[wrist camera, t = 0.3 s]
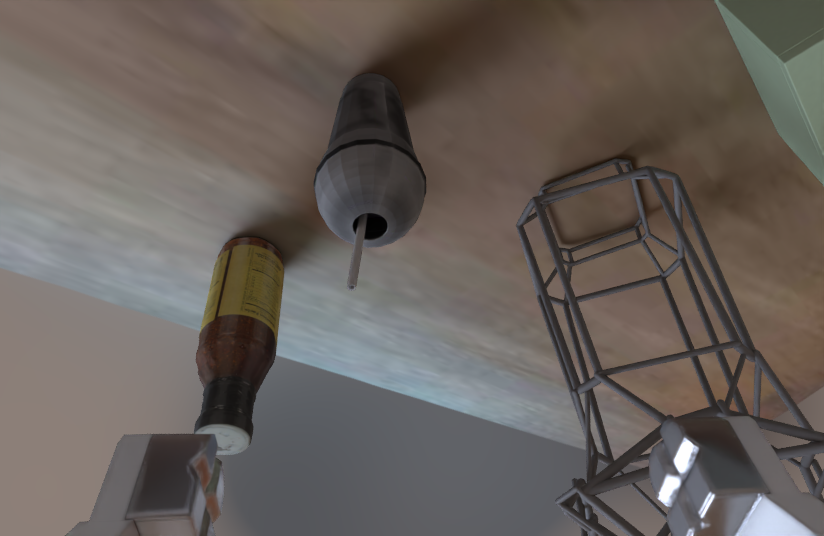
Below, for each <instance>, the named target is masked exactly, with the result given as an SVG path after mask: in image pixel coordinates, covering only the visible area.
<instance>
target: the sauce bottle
mask: <svg viewBox="0 0 824 536" xmlns="http://www.w3.org/2000/svg"><path fill="white" fill-rule="evenodd" d="M283 280H284V268H283V261H282V257H281V254H280V252H279V251H278V250H277V249H276V248H275V247H274V246H273V245H272V244H270V243H268V242H267V241H265V240H262V239H260V238H258V237H244V238H237V239H233V240H231V241H229V242H228V243H226V244H225V245H224V246H223V248H222V250H221V251H220V254H219V255H218V259H217V260H216V263H215V267H214V272H213V276H212V280H211V285H210V290H209V294H208V299H207V303H206V308H205V313H204V317H203V321H202V326H201V330H200V335H199V346H198V350H197V353H196V363H197V366H198V375H199V377H200V381H201V382H202V384H203V387H204V393H203V396H204V399H203V404H202V410H201V414H200V416H199V418H198V420H197V421H196V424H195V429H194V434H215V437H216V440H217V444H218V448H217V453H216V454H219V455H231V454H237V453H240V452H242V451H244V450H245V449H246V448H247V447H248V446H249V445H250V443H251V439H252V434H253V423H252V413H253V405H254V402H255V399H256V393H257V392H258V390H259V388H260V386H261V384H262V382H263V380H264V379H265V377H266V375H267V373H268V371H269V369H270V368H271V366H272V365H273V363H274V360H275V356H276V347H277V337H278V327H279V317H280V308H281V299H282V290H283Z"/></svg>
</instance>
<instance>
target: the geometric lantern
mask: <svg viewBox="0 0 824 536" xmlns="http://www.w3.org/2000/svg"><path fill="white" fill-rule="evenodd" d="M619 163H621V164H627V165H626V169H627V171H628V172H623V170H622V169H621V167H620V165H619ZM612 164H614V165H615V167H616V169H617V171H618V173H619V174H618V175H614V176H611V177H607V178H603V179H600V180H596V181H592V182H588V183H585V184H581V185H577V186H574V187H570V188H566V189H563V190H559V191H555V192H551V193H548V194H547V193H546V191H545V190H546V189H549V188H551V187H554V186H557V185H559V184H562V183H565V182H567V181H570V180H573V179H575V178H578V177H580V176H583V175H586V174H588V173H591V172H594V171H596V170H599V169H602V168H604V167H607V166H610V165H612ZM645 174H646V175H645ZM657 178H668V179H671V180H673V191H674V205H675V211H674V209H673V207H672V205H671V203H670V201H669V200H668V198H667V196H666V194H665V192H664V190H663V188H662V186H661V184H660V182H659V180H658V179H657ZM626 179H631V182H632V186H633V190H634V194H635V198H636V202H637V206H638V210H639V214H640V217H639V219H638V221H637V223H636V225H635V226H633V227H630V228H627V229H624V230H621V231H619V232H616V233H613V234H610V235H607V236H604V237H602V238H599V239H596V240H593V241H590V242H588V243H585V244H582V245H579V246H576V247H574V248H571V249H566V248H559V246H558V244H557V241H556V238H555V236H554V233H553V230H552V228H551V225H550V222H549V220H548V217H547V214H546V212H545V208H546V207H547V205H548V204H551V203H554V202H556V201H559V200H562V199H565V198H568V197H571V196H574V195H577V194H579V193H582V192H585V191H588V190H591V189H594V188H597V187H600V186H603V185H607V184H611V183H615V182H618V181H622V180H626ZM636 179H649V180H650V181H651V183H652V185H653V187H654V189H655V191H656V193H657V195H658V197H659V199H660V201H661V203H662V205H663V207H664V209H665V211H666V213H667V215H668V217H669V219H670V221H671V223H672V225H673V227H674V229H675V231H676V234H677V249H678V251H677V250H676V249H674V248H673V247H671V246H670V245H668V244H666V243H665V242H663V241H662V240H660V239H659V238H657V237H656V236H654V235H653V234H651V233H650V229H649V226H648V222H647V218H646V215H645V211H644V207H643V203H642V199H641V195H640V192H639V188H638V184H637V180H636ZM681 199H682V201H683V204H684V206H685V208H686V211H687V213H688V216H689V218H690V220H691V223H692V225H693V227H694V230H695V232H696V234H697V237H698V239H699V242H700V244H701V246H702V249H703V251H704V253H705V256H706V258H707V260H708V263H709V265H710V268H711V270H712V272H713V275H714V277H715V279H716V282H717V284H718V287H719V289H720V291H721V294H722V296H723V298H724V301H725V303H726V305H727V308H728V310H729V313H730V315H731V317H732V320H733V322H734V324H735V327H736V329H737V331H738V333H739V336H740V338H741V340H742V342H743V344H742V342H741V340H740V338H739V336H738V334H737V332H736V330H735V328H734V326H733V324H732V322H731V320H730V318H729V316H728V314H727V312H726V310H725V308H724V306H723V305H722V303H721V301H720V299H719V297H718V295H717V293H716V291H715V289H714V287H713V285H712V283H711V281H710V279H709V277H708V275H707V273H706V271H705V270H704V268H703V266H702V264H701V262H700V260H699V258H698V256H697V254H696V252H695V250H694V248H693V246H692V244H691V242H690V240H689V238H688V236H687V235H686V233H685V231H684V229H683V220H682V203H681ZM542 203H543V204H542ZM534 207H535V210H536V212H535V213H534V214H532V215H531V216H529V214H530V213H531V211H532V209H533V208H534ZM528 216H529V217H528ZM537 216H538V218H539V221H540V224H541V227H542V229H543V232H544V235H545V238H546V241H547V243H548V246H549V249H550V252H551V254H552V257H553V260H554V263H555V265H556V267H555V269H554V270H553V272H552V273H551V275H550V277H549V278H548V280H547V281H546V283H545V284H544V281H543V278H542V276H541V273H540V270H539V267H538V265H537V262H536V259H535V256H534V254H533V251H532V248H531V245H530V243H529V240H528V238H527V235H526V232H525V230H524V227H523V225H525V224H526V223H528V222H529V221H531V220H532V219H534V218H535V217H537ZM641 223H642V225H643V227H644V229H645V232H646V233H645V234H644V235H643V236H641V233H640V230H639V228H638V227H639V226H640V224H641ZM516 227H517V230H518V233H519V237H520V240H521V244H522V247H523V251H524V254H525V257H526V261H527V264H528V268H529V271H530V275H531V278H532V282H533V285H534V289H535V292H536V296H537V299H538V302H539V305H540V308H541V311H542V314H543V317H544V320H545V323H546V326H547V329H548V331H549V334H550V337H551V340H552V343H553V346H554V349H555V352H556V355H557V357H558V360H559V363H560V366H561V369H562V372H563V375H564V378H565V380H566V383H567V386H568V389H569V392H570V395H571V398H572V401H573V403H574V406H575V409H576V412H577V415H578V418H579V421H580V424H581V426H582V429H583V432H584V435H585V438H586V462H587V483H586V482H585V480H584V479H581V478H580V479H578V480H577V479H575V478H574V479H572V486H573V487H572V488H571V489H570V490H569V491H567V492H566V493H564V494H563V495H562V496H560V497H559V498H557V499H556V500H555V502H556V504H557V505H558V506H559V507H561V508H562V510H563V512H564V514H565V515H566V516H568V517H569V518H570V519H571V520H573V521H574V522H575V523H576V524H578V525H579V526H580V527H581V536H588V535H589V536H598V535H600V536H617V535H615V534H614V533H612V532H611V531H609V530H608V529H607V528H605V527H604V526H602V525H600V524H599V523H598V517H597V515H596V514H595V513H593V510H592V507H593V508H595V509H596V510H597V511H598V512H599V513H601V514H602V515H603V516H605V517H606V518H607V519H608V520H609V521H611V522H612V523H613V524H615V525H616V526H617V527H618V528H619V529H621V530H622V531H623V532H624V533H626V534H627V535H628V536H645V535H643V534H642V533H641V532H640V531H638V530H637V529H636V528H635V527H634V526H632V525H631V524H630V523H629V522H627V521H626V520H625V519H624V518H622V517H621V516H620V515H619V514H617V513H616V512H615V511H613V510H612V509H611V508H610V507H609V506H607V505H606V504H605V503H604V502H602V501H601V500H600V499H599V498H597V497H596V496H595V495H597V494H600V493H603V492H607V491H610V490H613V489H616V488H619V487H622V486H626V485H628V484H630V485H631V486H632V487H633V488H634V489H635V490H636V491H637V492H638V493H639V494H640V495H641V496H642V497H643V498H644V499H645V500H646V501H647V502H648V503H649V504H650V505H651V506H653V507H654V508H655V509H656V510H657V511H658V512H659V513H660V514H661V515H662V516H663V517H664V518H665V519H666V518H667V514H666V513H665V512H664V511H663V510H662V509H661V508H660V507H659V506H657V504H655V503H654V502H653V501H652V500H651V499H650V498H649V497H648V496H647V495H646V494H645V493H644V492H643V491H642V490H641V489H640V488H639V487H638V486H637V485H636V484H635V482H638V481H641V480H644V479H648V478H650V476H649V466H648V467H645V468H642V469H639V470H636V471H632V472H630V473H626V474H624V473H623V472H622V471H621V470H622V469H623V468H624V467H626V466H627V465H628V464H629V463H633V462H638V461H642V460H647V459H649V457H650V454H651V453H649V454H644V455H641V454H642V453H643V452H645V451H646V450H647V449H648V448H650V447H651V446H652V445H653V444H655V443H656V442H657V441H658V440H660V439H661V438H662V436H661V434H660V432H659V431H660V429H661V427H662V425H663V422H665V421H666V420H668V419H670V418H674V417H673V416H672V415H667V416H665V415H664V414H662V413H661V412H659V411H658V410H656V409H655V408H653V407H652V406H650V405H649V404H647V403H646V402H644V401H643V400H641V399H640V398H638V397H637V396H635V395H634V394H632V393H631V392H629V391H628V390H626V389H625V388H623V387H622V386H621V385H619V384H618V383H616V382H615V381H613V380H612V379H610V378H609V377H607V375H612V374H616V373H621V372H625V371H630V370H634V369H639V368H643V367H648V366H652V365H657V364H661V363H666V362H670V361H675V360H679V359H684V358H688V357H690V358H691V361H692V363H693V366H694V368H695V371H696V373H697V376H698V378H699V381H700V383H701V386H702V388H703V391H704V393H705V396H706V398H707V401H708V403H709V406H710V407H707V408H704V409H701V410H698V411H695V412H691V413H688V414H685V415H682V416H678V417H675V418H692V417H713V416H718V417H732V416H749V417H751V418H752V419H753V420H755V421H756V423H757V424H758V426H759V428H762V429H766V430H769V431H774V432H777V433H781V434H785V435H789V436H793V437H797V438H801V439H805V440H808V441H811V442H810V443H808V444H804V445H798V446H792V447H786V448H781V449H777V448H775V447H774V446H772V445H771V446H772V448H773V450H774V451H775V453H776V454H777V456H778V457H779V459H780V460H783V459H786V460H788V461H790V462H791V463H793V464H794V465H796V466H798V467H799V469H800V471H801V473H802V475H803V477H804V480H805V482H806V484H807V486H808V488H809V491H810V493H811V494H812V495H813V496H814V497H816V498H817V499H819V500H820V501H822V502H823V503H824V499H823V496H822V494H821V493H822V490H823V488H824V470H823V471H822V469H821V467H820V466H819V464H818V462H817V460H816V459H814V456H815V454H819V453H824V433H821V432H817V431H814V430H813V428H812V427H811V425H810V424H809V423H808V421H807V420H806V418H805V417H804V416H803V414H802V412H801V411H800V409H799V408H798V407H797V405H796V404H795V402H794V401H793V399H792V398H791V396H790V395H789V394H788V392H787V391H786V389H785V388H784V386H783V385H782V384H781V382H780V381H779V379H778V378H777V376H776V375H775V373H774V372H773V371H772V369H771V368H770V366H769V365H768V363H767V362H766V360H765V359H764V358H763V356H762V354H761V353H760V352H759V351H758V350H756V349H755V347H754V345H753V343H752V340H751V338H750V336H749V333H748V331H747V329H746V327H745V324H744V322H743V320H742V318H741V315H740V313H739V311H738V308H737V306H736V304H735V302H734V299H733V297H732V295H731V292H730V290H729V288H728V286H727V283H726V281H725V279H724V276H723V274H722V272H721V270H720V267H719V265H718V263H717V260H716V258H715V256H714V254H713V251H712V249H711V247H710V244H709V242H708V240H707V238H706V235H705V233H704V231H703V228H702V226H701V224H700V222H699V219H698V217H697V215H696V212H695V210H694V208H693V206H692V203H691V201H690V199H689V196H688V194H687V192H686V190H685V187H684V185H683V183H682V181H681V179H680V177H679V176H678V175H677V174H675V173H672V172H669V171H666V170H662V169H659V168H655V167H650V166H645V167H642V168H639V169H636V170H633V167H632V163H631V162H630V160H625V159H616V158H615V159H613V160H611V161H608V162H605V163H603V164H600V165H597V166H595V167H592V168H590V169H587V170H584V171H582V172H579V173H576V174H574V175H571V176H569V177H566V178H563V179H561V180H558V181H555V182H553V183H550V184H548V185H545V186H543V187H541V188H540V191H539V194H538V196H537V197H533V198H532V199H531V200H530V202H529V203H528V205H527V206H526V208H525V210H524V212H523V213H522V215H521V217H520V219H519V220H518V222H517V225H516ZM633 230H635V232H636V235H637V237H638V239H637V240H634V241H631V242H629V243H626V244H623V245H620V246H617V247H614V248H611V249H609V250H606V251H603V252H600V253H597V254H594V255H591V256H589V257H586V258H583V259H580V260H577V261H573V257H572V254H571V252H574V251H577V250H579V249H582V248H585V247H588V246H591V245H593V244H596V243H599V242H602V241H605V240H608V239H610V238H613V237H616V236H619V235H622V234H624V233H627V232H630V231H633ZM647 237H650V238H651V239H653V240H654V241H656V242H657V243H659V244H660V245H662V246H663V247H665V248H666V249H668V250H669V251H671V252H672V253H674V254H676V255H677V256H678V259H677V260H676V261H675V262H674V263H673V264H672V265H671V266H670V267H669V268H668V269H667V270H666V271H665V272H664V271H663V270H662V268H661V266H660V265H659V263H658V261H657V260H656V258H655V257H654V255H653V253H652V252H651V250H650V248H649V247H648V245H647V243H646V242H645V239H646V238H647ZM638 243H642V245H643V247H644V248H645V250H646V252H647V253H648V255H649V257H650V258H651V260H652V261H653V263H654V265H655V266H656V268H657V270H658V271H659V273H660V275H659V276H655V277H652V278H648V279H644V280H640V281H636V282H632V283H628V284H625V285H621V286H617V287H613V288H609V289H605V290H601V291H598V292H594V293H590V294H586V295H582V296H578V297H575V295H574V292H573V289H572V287H571V284H570V280H571V270H572V266H575V265H578V264H581V263H583V262H586V261H589V260H592V259H595V258H598V257H601V256H604V255H606V254H609V253H612V252H615V251H618V250H621V249H624V248H627V247H629V246H632V245H635V244H638ZM684 249H685V251H686V253H687V255H688V257H689V259H690V261H691V263H692V265H693V267H694V269H695V271H696V273H697V275H698V277H699V279H700V281H701V283H702V285H703V287H704V289H705V291H706V293H707V295H708V297H709V299H710V301H711V303H712V305H713V307H714V309H715V311H716V313H717V315H718V317H719V319H720V321H721V323H722V325H723V327H724V329H725V331H726V333H727V335H728V337H729V339H730V341H731V342H726V343H722V344H720V343H719V341H718V338H717V336H716V334H715V331H714V329H713V326H712V324H711V321H710V319H709V317H708V314H707V312H706V309H705V307H704V304H703V302H702V300H701V297H700V295H699V292H698V290H697V287H696V285H695V282H694V280H693V277H692V275H691V272H690V270H689V267H688V264H687V262H686V259H685V253H684ZM561 252H567V254H568V258H569V261H570V262H568V261H565V260H564V259H563V256H562V253H561ZM563 264H565V265H567V266H568V269H567V273H566V271H565V268H564V265H563ZM680 265H681V267H682V270H683V273H684V275H685V278H686V280H687V283H688V286H689V288H690V291H691V293H692V296H693V298H694V301H695V303H696V306H697V308H698V311H699V313H700V316H701V318H702V321H703V323H704V326H705V328H706V331H707V333H708V336H709V338H710V341H711V343H712V346H708V347H704V348H699V349H694V347H693V344H692V342H691V339H690V337H689V335H688V332H687V330H686V327H685V325H684V322H683V320H682V318H681V315H680V313H679V310H678V308H677V305H676V303H675V301H674V298H673V296H672V293H671V291H670V288H669V286H668V283H667V281H666V278H667V277H668V276H669V275H671V274H672V273H673V272H674V271H675V270H676V269H677V268H678V267H679V266H680ZM557 272H558V274H559V276H560V279H561V282H562V285H563V288H564V290H565V298H564V300H561V299H557V298H554V297H551V296H549V295H548V292H547V289H546V288H547V287H548V285H549V284H550V282H551V281H552V279H553V278H554V276H555V275H556V273H557ZM656 282H660V283H661V285H662V288H663V290H664V293H665V295H666V298H667V300H668V303H669V305H670V308H671V310H672V313H673V315H674V318H675V320H676V323H677V325H678V328H679V330H680V333H681V335H682V338H683V340H684V343H685V345H686V348H687V350H688V351H686V352H682V353H677V354H673V355H668V356H664V357H659V358H655V359H650V360H646V361H641V362H637V363H633V364H628V365H624V366H619V367H615V368H610V369H606V370H602V368H601V365H600V362H599V359H598V357H597V354H596V351H595V348H594V346H593V343H592V340H591V337H590V335H589V332H588V329H587V327H586V324H585V321H584V319H583V316H582V313H581V311H580V308H579V305H578V302H582V301H586V300H590V299H594V298H598V297H601V296H605V295H609V294H613V293H617V292H621V291H625V290H629V289H633V288H636V287H640V286H644V285H648V284H652V283H656ZM552 303H554V304H557V305H561V306H563V309H564V313H565V316H566V320H567V324H568V327H569V331H570V335H571V338H572V342H573V345H574V349H575V352H576V356H577V359H578V363H579V366H580V370H581V373H582V377H583V380H584V383H583V384H580V381H579V378H578V375H577V372H576V370H575V367H574V364H573V361H572V359H571V356H570V353H569V350H568V347H567V345H566V342H565V339H564V336H563V334H562V331H561V328H560V325H559V323H558V320H557V317H556V314H555V312H554V309H553V306H552ZM569 305H570V307H571V310H572V312H573V315H574V318H575V321H576V323H577V326H578V329H579V332H580V335H581V337H582V340H583V343H584V345H585V348H586V351H587V353H588V356H589V359H590V361H591V364H592V367H593V369H594V372H595V373H594V377H593V378H591V379H590V378H589V374H588V371H587V368H586V364H585V361H584V357H583V354H582V351H581V347H580V344H579V340H578V337H577V334H576V330H575V327H574V323H573V320H572V316H571V312H570V309H569ZM733 347H734V349H735V350H736V351H738V352H739V353H740V354H741V356H740V359H739V361H738V364H737V367H736V370H735V373H734V376H733V375H732V373H731V370H730V368H729V365H728V363H727V360H726V358H725V356H724V353H723V351H722V350H724V349H729V348H733ZM711 352H715V353H716V356H717V358H718V361H719V363H720V366H721V368H722V371H723V373H724V376H725V378H726V381H727V383H728V386H729V391H728V394H727V397H726V400H725V402H724V401H723V400H718V401H717V403H716V400H715V398H714V395H713V393H712V390H711V388H710V386H709V383H708V381H707V378H706V376H705V373H704V371H703V369H702V366H701V364H700V361H699V359H698V356H697V355H702V354H706V353H711ZM746 358H747V359H748V360H749V361H751V362H755V379H754V412H753V416H752V415H749V414H748V411H747V409H746V407H745V404H744V402H743V399H742V397H741V394H740V392H739V390H738V387H737V383H738V380H739V377H740V374H741V371H742V368H743V365H744V362H745V359H746ZM761 371H763V372H764V374H765V375H766V377H767V378H768V380H769V381H770V383H771V384H772V385H773V387H774V388H775V390H776V391H777V393H778V394H779V396H780V397H781V399H782V400H783V401H784V403H785V404H786V406H787V407H788V409H789V410H790V411H791V413H792V414H793V416H794V417H795V419H796V420H797V422H798V423H799V425H800V426H801V427H797V426H792V425H788V424H785V423H781V422H776V421H773V420H768V419H764V418H760V394H761ZM601 382H602V383H604V384H605V385H606V386H608V387H609V388H611V389H612V390H614V391H615V392H616V393H618V394H619V395H621V396H622V397H624V398H625V399H627V400H628V401H629V402H631V403H632V404H634V405H635V406H637V407H638V408H640V409H641V410H642V411H644V412H645V413H647V414H648V415H650V416H651V417H653V418H654V419H655V420H657V421H658V422H660V423H661V425H660V426H659V427H657V428H656V429H655V430H653V431H652V432H651V433H650V434H648V435H647V436H646V437H645V438H643V439H642V440H641V441H639V442H638V443H637V444H636V445H634V446H633V447H632V448H631V449H629V450H628V451H627V452H625V453H624V454H623V455H622V456H620V457H619V458H618V459H616V460H615V461H614V459H613V456H612V452H611V449H610V446H609V442H608V439H607V436H606V432H605V429H604V426H603V422H602V419H601V415H600V412H599V409H598V405H597V402H596V398H595V395H594V392H593V387H595V386H597V385H598V384H600V383H601ZM584 392H585V413H584V411H583V407H582V404H581V400H580V397H579V394H582V393H584ZM732 398H734V401H735V403H736V406H737V408H738V411H739V412H736V411H732V410H730V409H729V407H730V404H731V401H732ZM717 404H718V405H717ZM590 405H591V409H592V412H593V416H594V419H595V423H596V426H597V430H598V433H599V437H600V440H601V444H602V447H603V451H604V454H605V455H603V454H601V453H599V452H598V451H597V448H596V445H595V442H594V439H593V436H592V433H591V430H590ZM639 455H640V456H639ZM801 456H803V457H802V460H801V463H800V462H798V461H797V460H795V459H793V458H795V457H801ZM598 460H599V461H601V462H603V463H604V464H607V465H609V466H608V467H606V468H605V469H604V470H602V471H601V472H600V473H599V474H597V475H596V469H597V463H598ZM811 464H812V466H813V468H814V470H815V472H816V474H817V476H818V478H819V481H818V483H816V481H815V478H814V476H813V474H812V472H811V470H810V465H811ZM617 473H618V474H619V475H620V476H617V477H614V478H612V477H613V476H614V475H615V474H617ZM575 502H576V506H577V511H578V512H577V511H576V510H575V509H573V508H572V507H573V505H574V503H575ZM587 532H588V534H587ZM670 532H671V530H670V528H669V526H668V523H667V522H666V524H665V525H664V526H663V528H662V529H661V530H660V532H659V533H658V534H657V536H668V534H669V533H670ZM671 536H673V535H672V533H671Z"/></svg>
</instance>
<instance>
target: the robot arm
mask: <svg viewBox="0 0 824 536" xmlns="http://www.w3.org/2000/svg"><path fill="white" fill-rule="evenodd" d="M659 432H660V434H661V436H662V438H663V440H662V441H660V442H659V443H658V444H656V445H655V446H654V447H653V448H652V451H651V454H650V457H649V476H650V480H651V485H652V487H653V490H654V492H655V495H656V497H657V498H658V499H659V500H660V501H662V502H663V503H664V504H665V505H666V506H668V507H669V511H668V514H667V518H666V521H667V523H668V526H669V528H670V530H671V533H672V535H673V536H824V503H823V502H822V501H820V500H819V499H817V498H816V497H814V496H813V495H812V494H810V493H801V492H800V491H799V489H798V487H797V486H796V484H795V483H794V481H793V479H792V478H791V476H790V475H789V473H788V472H787V470H786V468H785V467H784V465H783V464H782V462H781V461H780V459H779V457H778V456H777V454H776V453H775V451H774V450H773V448H772V446H771V445H770V444H769V442H768V440H767V439H766V437H765V435H764V434H763V432H762V431H761V429H760V428H759V426H758V424H757V423H756V421H755V420H753V419H752V418H751V417H749V416H732V417H718V416H714V417H692V418H670V419H668V420H666V421H665V422H663V425H662V427H661V429H660V431H659ZM217 448H218V444H217V440H216V437H215V434H134V435H124V436H123V437H122V438H121V440H120V441H119V442H118V444H117V446H116V449H115V452H114V455H113V457H112V460H111V463H110V465H109V468H108V471H107V474H106V476H105V479H104V482H103V484H102V487H101V491H100V493H99V495H98V498H97V501H96V503H95V506H94V509H93V512H92V514H91V517H90V520H89V521H87V522H79V523H78V524H77V525H76V526H75V527H74V528H73V529H72V530H71V531H70V532H69V533H67V534H66V535H65V536H215V533H214V529H213V525H212V524H213V523H214V522H215V521H216V519H217V518H218V517H219V516H220V515H221V510H222V504H223V497H224V471H223V466H222V462H221V461H220V460H219V459H217V458H216V453H217Z"/></svg>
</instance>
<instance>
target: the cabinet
mask: <svg viewBox="0 0 824 536" xmlns="http://www.w3.org/2000/svg"><path fill="white" fill-rule="evenodd" d="M715 2H716V4H717V7H718V9H719V11H720V13H721V15H722V17H723V19H724V21H725V23H726V25H727V27H728V30H729V32H730V34H731V36H732V38H733V40H734V42H735V44H736V46H737V48H738V50H739V53H740V55H741V57H742V59H743V61H744V63H745V65H746V67H747V69H748V71H749V74H750V76H751V78H752V80H753V82H754V84H755V86H756V88H757V90H758V92H759V94H760V97H761V99H762V101H763V103H764V105H765V107H766V109H767V111H768V113H769V115H770V117H771V120H772V122H773V124H774V126H775V128H776V130H777V132H778V134H779V135H780V136H781V138H782V139H783V140H784V141H785V142H786V143H787V144H788V146H789V147H790V148H791V149H792V150H793V151H794V152H795V154H796V155H797V156H798V157H799V158H800V159H801V160H802V162H803V163H804V164H805V165H806V166H807V167H808V168H809V170H810V171H811V172H812V173H813V174H814V175H815V176H816V178H817V179H818V180H819V181H820V182H821V183H822V184H823V186H824V0H715Z"/></svg>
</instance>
